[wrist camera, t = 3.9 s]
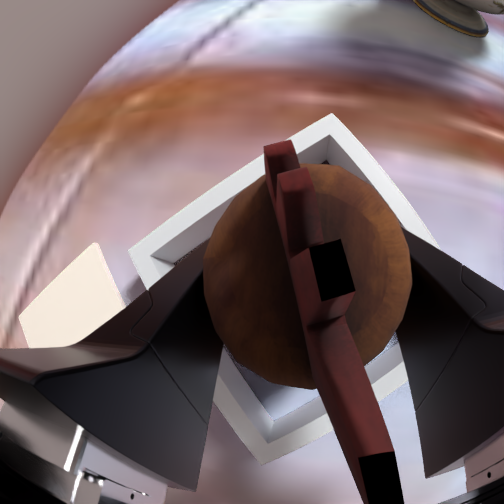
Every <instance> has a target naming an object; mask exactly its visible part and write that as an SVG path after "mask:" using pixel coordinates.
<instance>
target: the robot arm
mask: <svg viewBox="0 0 504 504" xmlns="http://www.w3.org/2000/svg"><path fill="white" fill-rule="evenodd" d="M401 229H402V231H403V234H404V237H405V239H406V242H407V244H408V247H409V253H410V263H411V273H412V287H411V291H410V295H409V299H408V302H407V306H406V309H405V313H404V316H403V319H402V321H401V323H400V324H399V326H398V328H397V329H396V331H395V332H396V335H397V339H398V342H399V346H400V349H401V353H402V357H403V361H404V365H405V369H406V373H407V377H408V381H409V385H410V390H411V394H412V399H413V404H414V409H415V411H416V412H415V414H416V420H417V425H418V431H419V437H420V443H421V449H422V457H423V464H424V472H425V478H426V479H427V478H430V477H434V476H437V475H440V474H443V473H446V472H449V471H452V470H455V469H457V468H460V467H463V466H464V467H465V473H466V489H467V493H465V494H463V495H460V496H458V497H455V498H452V499H450V500H447V501H444V502H441V503H438V504H504V290H502V289H501V288H499V287H497V286H496V285H494V284H492V283H491V282H489V281H487V280H486V279H484V278H483V277H481V276H480V275H478V274H477V273H475V272H473V271H472V270H470V269H469V268H468V267H466V266H465V265H463V266H462V264H461V263H460V262H458V261H457V260H455V259H454V258H452V257H451V256H449V255H447V254H446V253H444V252H443V251H441V250H439V249H438V248H436V247H435V246H433V245H431V244H430V243H428V242H426V241H425V240H423V239H421V238H420V237H418V236H416V235H414V234H413V233H411V232H409V231H408V230H406V229H404V228H402V227H401ZM210 238H211V237H210ZM210 238H209V239H208V240H207V241H205V242H204V243H203V244H202V245H201V246H199V247H198V248H197V249H196V250H194V251H193V252H192V253H191V254H189V255H188V256H187V257H186V258H185V259H183V260H182V261H181V262H180V263H178V264H177V265H176V266H175V267H174V268H172V269H171V270H170V271H169V272H168V273H166V274H165V275H164V276H163V277H161V278H160V279H159V280H158V281H157V282H155V283H154V284H153V285H152V286H151V287H150V288H149V289H148V290H149V291H148V290H146V291H145V292H144V293H142V294H141V295H140V296H139V297H138V298H136V299H135V300H134V301H133V302H132V303H130V304H129V305H128V306H127V307H125V308H124V309H123V310H121V311H120V312H119V313H117V314H116V315H115V316H113V317H112V318H111V319H109V320H108V321H107V322H105V323H104V324H103V325H101V326H100V327H99V328H97V329H96V330H95V331H93V332H92V333H90V334H89V335H88V336H86V337H85V338H84V339H82V340H81V341H79V342H77V343H75V344H72V345H69V346H65V347H50V348H20V349H2V348H0V398H1V399H3V400H4V401H5V403H4V405H3V407H2V409H1V411H0V504H164V503H165V498H166V493H167V488H168V487H172V488H177V489H182V490H187V491H193V492H196V489H197V484H198V478H199V473H200V467H201V462H202V456H203V451H204V445H205V440H206V434H207V429H208V423H209V418H210V412H211V407H212V402H213V396H214V391H215V386H216V381H217V375H218V370H219V365H220V360H221V355H222V350H223V344H224V343H223V341H222V340H221V338H220V337H219V335H218V334H217V333H216V331H215V329H214V325H213V322H212V319H211V316H210V312H209V309H208V306H207V303H206V299H205V296H204V279H203V257H204V255H205V252H206V249H207V246H208V243H209V241H210Z"/></svg>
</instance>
